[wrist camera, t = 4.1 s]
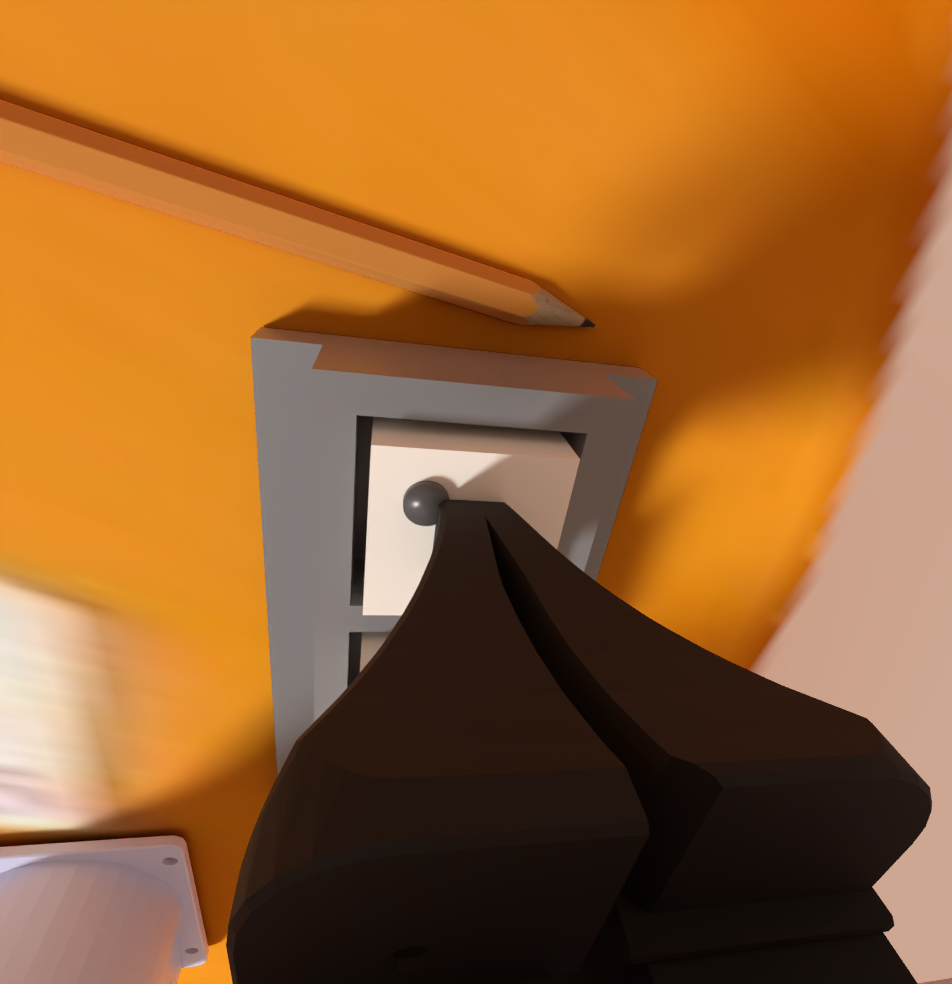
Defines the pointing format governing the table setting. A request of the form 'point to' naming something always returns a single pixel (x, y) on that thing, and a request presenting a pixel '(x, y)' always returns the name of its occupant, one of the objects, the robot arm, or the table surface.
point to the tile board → (346, 469)
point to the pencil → (268, 218)
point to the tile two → (452, 492)
